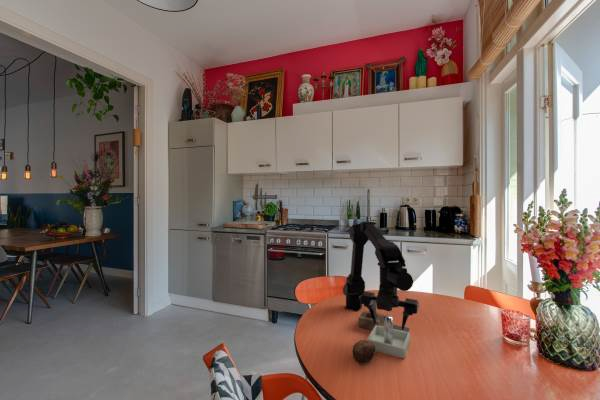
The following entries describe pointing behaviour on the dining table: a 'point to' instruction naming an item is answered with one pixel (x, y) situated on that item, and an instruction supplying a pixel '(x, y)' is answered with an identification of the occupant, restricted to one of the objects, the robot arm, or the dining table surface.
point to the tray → (397, 349)
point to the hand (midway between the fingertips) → (388, 326)
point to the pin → (388, 329)
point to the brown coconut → (363, 351)
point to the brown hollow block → (369, 320)
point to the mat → (400, 328)
